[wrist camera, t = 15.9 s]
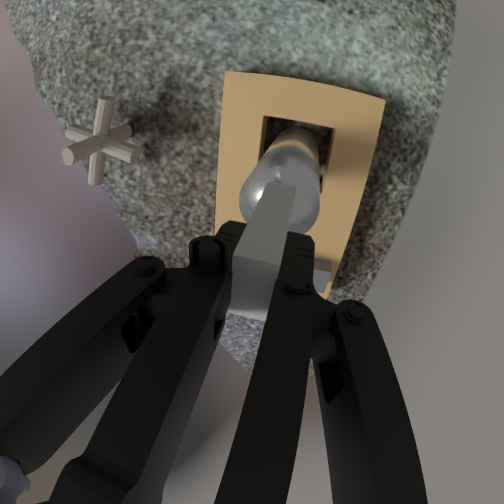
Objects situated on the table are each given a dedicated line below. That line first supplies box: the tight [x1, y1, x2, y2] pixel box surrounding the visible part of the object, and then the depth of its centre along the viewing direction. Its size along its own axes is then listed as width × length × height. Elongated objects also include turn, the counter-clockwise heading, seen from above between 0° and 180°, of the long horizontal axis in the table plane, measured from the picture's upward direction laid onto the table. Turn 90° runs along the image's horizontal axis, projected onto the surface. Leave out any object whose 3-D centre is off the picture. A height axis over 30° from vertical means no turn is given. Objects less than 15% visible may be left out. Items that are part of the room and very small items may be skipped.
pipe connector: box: [62, 96, 140, 186], centre depth 24 cm, size 10×10×10 cm
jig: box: [215, 71, 386, 299], centre depth 27 cm, size 24×14×5 cm, turn 174°
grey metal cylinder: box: [239, 127, 320, 234], centre depth 20 cm, size 4×4×14 cm
